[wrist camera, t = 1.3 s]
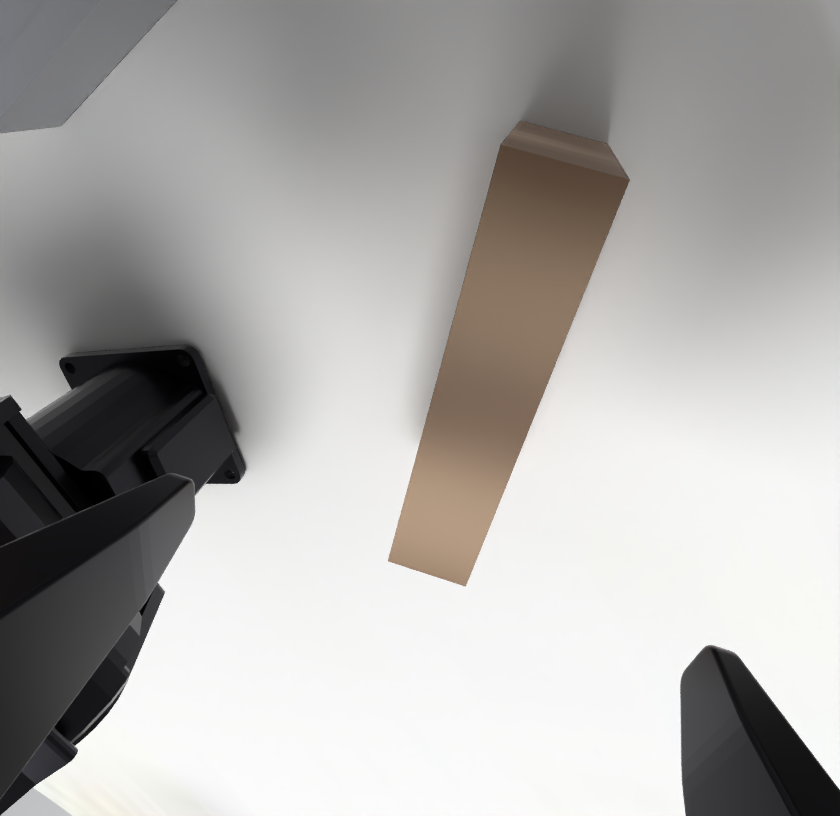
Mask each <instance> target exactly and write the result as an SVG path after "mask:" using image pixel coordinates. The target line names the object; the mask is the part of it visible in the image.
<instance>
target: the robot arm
mask: <svg viewBox="0 0 840 816" xmlns="http://www.w3.org/2000/svg"><path fill="white" fill-rule="evenodd" d="M183 355H184V356H185V357H187V359H188V360H189V362H188V361H186V360H185V359H184V357H183ZM59 365H60V368H61V370H62V372H63V374H64V376H65V378H66V379H67V381H68V383H69V385H70V387H71V389H72V390H71V391H69V392H68V393H66V394H65V395H63V396H62V397H60V398H59V399H57V400H56V401H54V402H53V403H51V404H49V405H48V406H46V407H45V408H43V409H42V410H40V411H39V412H37V413H36V414H34V415H33V416H31V417H30V418H28V419H27V420H26V419H25V418H24V417H23V416H22V414H21V413H20V412H19V411H21V410H22V409H21V408H20V407H19V405H18V404H17V403H16V401H15V400H14V399H13V398H12V396H11V395H8V396H5V397H2V398H0V815H1V814H2V813H3V812H5V811H6V810H7V809H8V808H9V807H10V806H11V805H13V804H14V803H15V802H16V801H17V800H19V799H20V798H21V797H22V796H23V795H25V794H26V793H27V792H28V791H29V790H30V789H31V788H33V787H34V786H35V785H36V784H38V783H39V782H41V781H42V780H44V779H45V778H47V777H48V776H50V775H51V774H53V773H54V772H56V771H57V770H59V769H60V768H62V767H63V766H65V765H66V764H68V763H69V762H70V761H72V760H73V758H74V757H75V756H76V754H77V752H78V749H77V748H76V747H75V745H76V744H78V743H79V742H80V741H81V740H82V739H84V738H85V737H86V736H87V735H88V734H89V733H90V732H91V731H92V730H93V729H94V728H95V727H96V726H97V725H98V724H99V723H100V722H101V721H102V720H103V718H104V717H105V716H106V715H107V714H108V713H109V711H110V710H111V709H112V707H113V706H114V704H115V703H116V701H117V700H118V699H119V697H120V695H121V693H122V691H123V689H124V687H125V685H126V684H127V681H128V678H129V676H130V673H131V671H132V669H133V666H134V664H135V662H136V659H137V657H138V655H139V652H140V650H141V648H142V645H143V643H144V641H145V638H146V636H147V633H148V631H149V629H150V626H151V624H152V622H153V619H154V617H155V615H156V612H157V610H158V608H159V605H160V603H161V601H162V598H163V596H164V593H165V591H164V590H163V589H162V588H161V586H160V585H159V584H158V581H159V579H160V578H161V576H162V574H163V573H164V571H165V569H166V567H167V566H168V564H169V562H170V561H171V559H172V557H173V555H174V554H175V552H176V550H177V549H178V547H179V545H180V543H181V542H182V540H183V538H184V537H185V535H186V533H187V532H188V530H189V528H190V526H191V524H192V522H193V519H194V516H195V495H196V494H197V493H198V492H199V491H200V489H201V488H202V487H203V486H204V485H205V484H235V483H238V482H239V481H240V480H241V479H242V477H243V476H244V474H245V470H244V467H243V464H242V462H241V459H240V457H239V454H238V452H237V449H236V447H235V444H234V442H233V439H232V436H231V434H230V431H229V429H228V426H227V424H226V421H225V419H224V416H223V414H222V411H221V408H220V406H219V403H218V401H217V398H216V396H215V393H214V391H213V388H212V386H211V383H210V381H209V378H208V375H207V373H206V370H205V368H204V365H203V363H202V360H201V358H200V355H199V354H198V352H197V351H196V350H195V349H194V348H193V347H191V346H189V345H176V346H162V347H149V348H135V349H122V350H108V351H95V352H81V353H71V354H68V355H67V356H65V357H63V358H61V360H60V362H59ZM230 470H231V471H232V472H234V473H232V472H231V471H230ZM680 694H681V767H682V785H683V796H684V805H685V813H686V816H840V790H839V788H838V787H837V786H836V784H835V783H834V782H833V780H832V779H831V778H830V777H829V775H828V774H827V773H826V771H825V770H824V769H823V767H822V766H821V765H820V763H819V762H818V761H817V759H816V758H815V757H814V755H813V754H812V753H811V751H810V750H809V749H808V747H807V746H806V745H805V744H804V742H803V741H802V740H801V738H800V737H799V736H798V734H797V733H796V732H795V730H794V729H793V728H792V726H791V725H790V724H789V722H788V721H787V720H786V718H785V717H784V716H783V715H782V713H781V712H780V711H779V709H778V708H777V707H776V705H775V704H774V703H773V701H772V700H771V699H770V697H769V696H768V695H767V693H766V692H765V691H764V689H763V688H762V687H761V685H760V684H759V683H758V682H757V680H756V679H755V678H754V676H753V675H752V674H751V672H750V671H749V670H748V668H747V667H746V666H745V664H744V663H743V662H742V660H741V659H740V658H739V657H738V656H737V655H736V654H735V653H734V652H732V651H729V650H726V649H723V648H720V647H717V646H714V645H708V646H706V647H704V648H703V649H702V650H701V652H700V653H699V654H698V655H697V656H696V657H695V659H694V660H693V661H692V662H691V663H690V665H689V666H688V667H687V668H686V669H685V671H684V673H683V675H682V678H681V685H680Z"/></svg>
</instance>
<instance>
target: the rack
mask: <svg viewBox="0 0 840 816" xmlns="http://www.w3.org/2000/svg"><path fill="white" fill-rule="evenodd" d="M175 2H176V0H0V133H6V132H15V131H24V130H33V129H42V128H50V127H59V126H61V125H62V124H63V123H64V122H65V121H66V120H67V119H68V118H69V117H70V116H71V115H72V113H73V112H74V111H75V110H76V109H77V108H78V107H79V106H80V105H81V104H82V103H83V102H84V100H85V99H86V98H87V97H88V96H89V95H90V94H91V93H92V92H93V91H94V90H95V88H96V87H97V86H98V85H99V84H100V83H101V82H102V81H103V80H104V79H105V78H106V77H107V75H108V74H109V73H110V72H111V71H112V70H113V69H114V68H115V67H116V66H117V65H118V63H119V62H120V61H121V60H122V59H123V58H124V57H125V56H126V55H127V54H128V53H129V52H130V50H131V49H132V48H133V47H134V46H135V45H136V44H137V43H138V42H139V41H140V40H141V38H142V37H143V36H144V35H145V34H146V33H147V32H148V31H149V30H150V29H151V28H152V27H153V25H154V24H155V23H156V22H157V21H158V20H159V19H160V18H161V17H162V16H163V15H164V13H165V12H166V11H167V10H168V9H169V8H170V7H171V6H172V5H173V4H174V3H175Z"/></svg>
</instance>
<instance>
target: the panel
mask: <svg viewBox="0 0 840 816" xmlns="http://www.w3.org/2000/svg"><path fill="white" fill-rule="evenodd" d="M629 180H630V179H629V177H628V176H627V174H626V173H625V171H624V169H623V168H622V166H621V165H620V163H619V161H618V160H617V158H616V156H615V155H614V153H613V152H612V150H611V148H610V147H609V145H608V144H605V143H601V142H598V141H594V140H590V139H586V138H583V137H579V136H575V135H571V134H568V133H564V132H560V131H556V130H553V129H549V128H545V127H542V126H538V125H534V124H530V123H527V122H523V121H519V123H518V124H517V125H516V126H515V128H514V129H513V130H512V131H511V133H510V134H509V135H508V136H507V137H506V139H505V140H504V141H503V142H502V144H501V145H500V149H499V152H498V156H497V160H496V164H495V167H494V171H493V175H492V178H491V182H490V186H489V189H488V193H487V197H486V201H485V204H484V208H483V212H482V215H481V219H480V223H479V226H478V230H477V234H476V237H475V241H474V245H473V249H472V252H471V256H470V260H469V263H468V267H467V271H466V274H465V278H464V282H463V285H462V289H461V293H460V297H459V300H458V304H457V308H456V311H455V315H454V319H453V322H452V326H451V330H450V334H449V337H448V341H447V345H446V348H445V352H444V356H443V359H442V363H441V367H440V370H439V374H438V378H437V382H436V385H435V389H434V393H433V396H432V400H431V404H430V407H429V411H428V415H427V419H426V422H425V426H424V430H423V433H422V437H421V441H420V444H419V448H418V452H417V455H416V459H415V463H414V467H413V470H412V474H411V478H410V481H409V485H408V489H407V492H406V496H405V500H404V504H403V507H402V511H401V515H400V518H399V522H398V526H397V529H396V533H395V537H394V540H393V544H392V548H391V552H390V555H389V559H388V561H389V562H392V563H395V564H398V565H401V566H405V567H408V568H411V569H414V570H417V571H420V572H423V573H426V574H429V575H432V576H435V577H438V578H441V579H444V580H447V581H450V582H454V583H457V584H460V585H463V586H466V584H467V582H468V579H469V577H470V575H471V572H472V570H473V567H474V565H475V562H476V560H477V557H478V555H479V552H480V550H481V547H482V545H483V542H484V540H485V537H486V535H487V532H488V530H489V527H490V525H491V522H492V520H493V518H494V515H495V513H496V510H497V508H498V505H499V503H500V500H501V498H502V495H503V493H504V490H505V488H506V485H507V483H508V480H509V478H510V475H511V473H512V470H513V468H514V465H515V463H516V461H517V458H518V456H519V453H520V451H521V448H522V446H523V443H524V441H525V438H526V436H527V433H528V431H529V428H530V426H531V423H532V421H533V418H534V416H535V413H536V411H537V408H538V406H539V404H540V401H541V399H542V396H543V394H544V391H545V389H546V386H547V384H548V381H549V379H550V376H551V374H552V371H553V369H554V366H555V364H556V361H557V359H558V356H559V354H560V351H561V349H562V347H563V344H564V342H565V339H566V337H567V334H568V332H569V329H570V327H571V324H572V322H573V319H574V317H575V314H576V312H577V309H578V307H579V304H580V302H581V299H582V297H583V294H584V292H585V290H586V287H587V285H588V282H589V280H590V277H591V275H592V272H593V270H594V267H595V265H596V262H597V260H598V257H599V255H600V252H601V250H602V247H603V245H604V242H605V240H606V237H607V235H608V233H609V230H610V228H611V225H612V223H613V220H614V218H615V215H616V213H617V210H618V208H619V205H620V203H621V200H622V198H623V195H624V193H625V190H626V188H627V185H628V183H629Z"/></svg>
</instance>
